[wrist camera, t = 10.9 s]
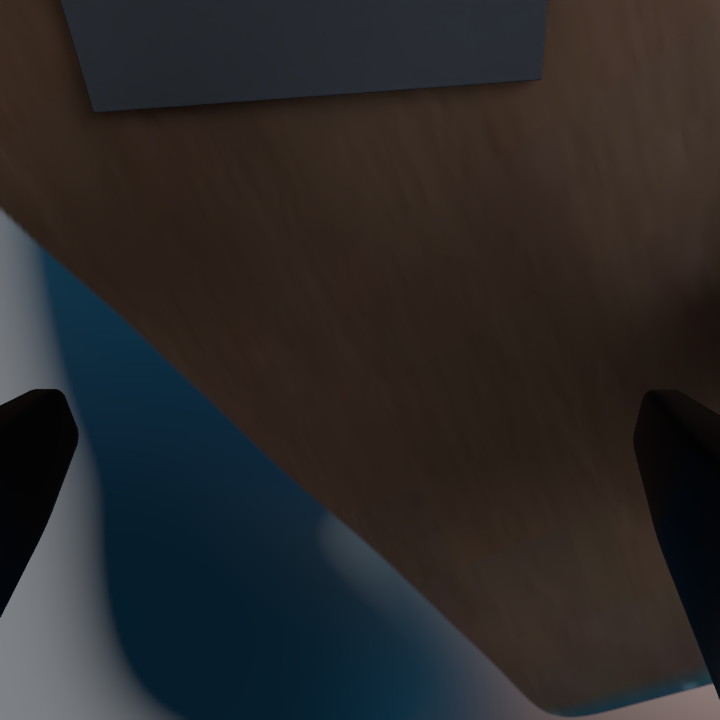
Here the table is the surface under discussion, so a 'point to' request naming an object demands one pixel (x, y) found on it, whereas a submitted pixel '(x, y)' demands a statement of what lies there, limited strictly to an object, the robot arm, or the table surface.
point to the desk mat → (296, 47)
